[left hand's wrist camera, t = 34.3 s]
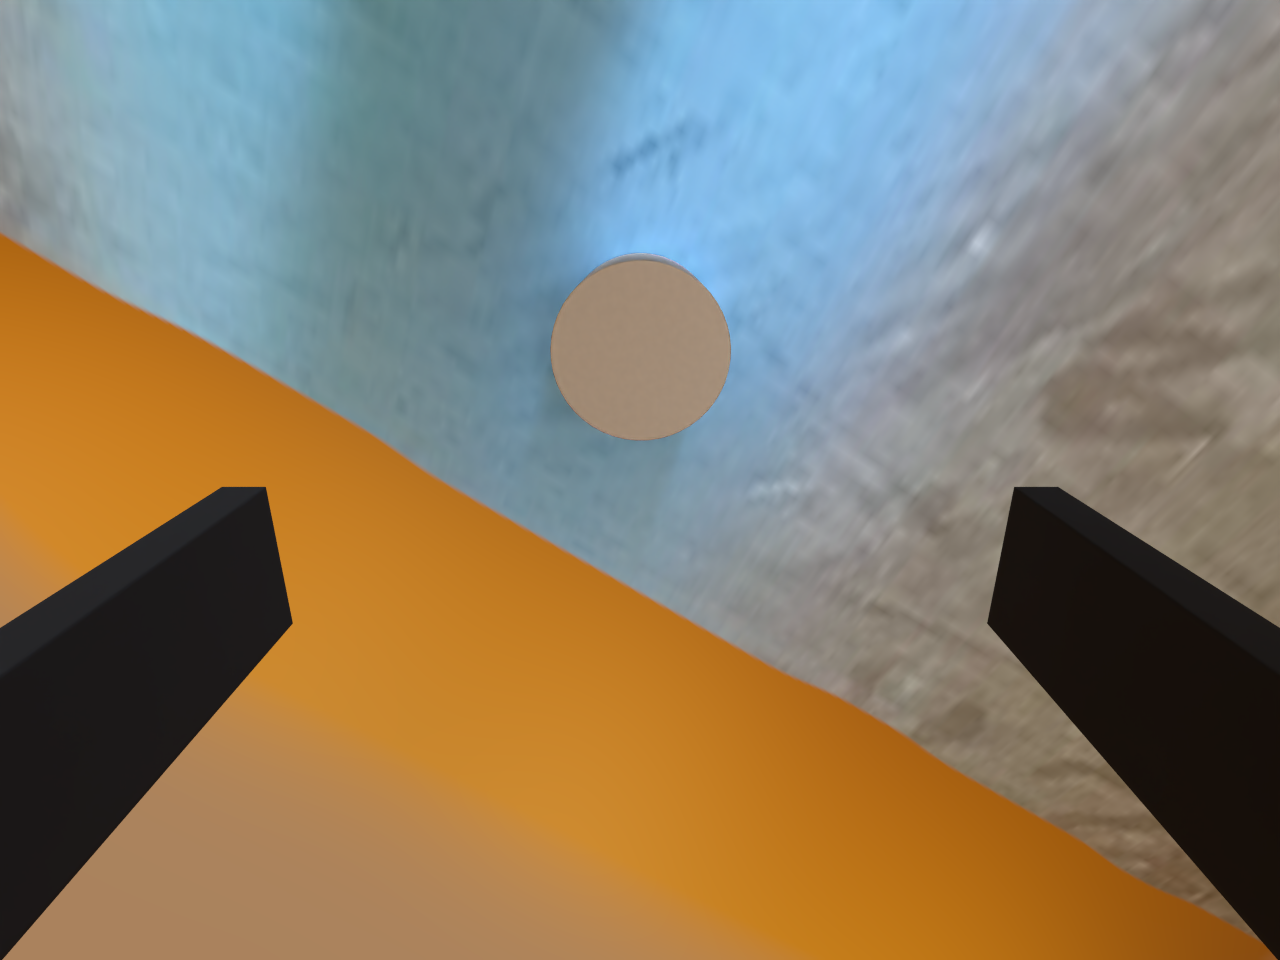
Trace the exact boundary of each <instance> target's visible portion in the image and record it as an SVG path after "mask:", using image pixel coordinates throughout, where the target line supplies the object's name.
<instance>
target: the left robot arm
mask: <svg viewBox="0 0 1280 960" xmlns="http://www.w3.org/2000/svg"><path fill="white" fill-rule="evenodd" d="M987 624H988V625H989V626H990V627H991V628H992V629H993V631H994V632H995V633H996V634H997V635H998V636H999V637H1000V639H1001V640H1002V641H1003V642H1004V643H1005V644H1006V646H1007V647H1008V648H1009V649H1010V650H1011V651H1012V653H1013V654H1014V655H1015V656H1016V657H1017V658H1018V659H1019V661H1020V662H1021V663H1022V664H1023V665H1024V666H1025V668H1026V669H1027V670H1028V671H1029V672H1030V673H1031V675H1032V676H1033V677H1034V678H1035V679H1036V680H1037V681H1038V683H1039V684H1040V685H1041V686H1042V687H1043V688H1044V690H1045V691H1046V692H1047V693H1048V694H1049V695H1050V697H1051V698H1052V699H1053V700H1054V701H1055V702H1056V703H1057V705H1058V706H1059V707H1060V708H1061V709H1062V710H1063V712H1064V713H1065V714H1066V715H1067V716H1068V717H1069V719H1070V720H1071V721H1072V722H1073V723H1074V724H1075V725H1076V727H1077V728H1078V729H1079V730H1080V731H1081V732H1082V734H1083V735H1084V736H1085V737H1086V738H1087V739H1088V741H1089V742H1090V743H1091V744H1092V745H1093V746H1094V747H1095V749H1096V750H1097V751H1098V752H1099V753H1100V754H1101V756H1102V757H1103V758H1104V759H1105V760H1106V761H1107V763H1108V764H1109V765H1110V766H1111V767H1112V768H1113V769H1114V771H1115V772H1116V773H1117V774H1118V775H1119V776H1120V778H1121V779H1122V780H1123V781H1124V782H1125V783H1126V785H1127V786H1128V787H1129V788H1130V789H1131V790H1132V791H1133V793H1134V794H1135V795H1136V796H1137V797H1138V798H1139V800H1140V801H1141V802H1142V803H1143V804H1144V805H1145V807H1146V808H1147V809H1148V810H1149V811H1150V812H1151V813H1152V815H1153V816H1154V817H1155V818H1156V819H1157V820H1158V822H1159V823H1160V824H1161V825H1162V826H1163V827H1164V829H1165V830H1166V831H1167V832H1168V833H1169V834H1170V835H1171V837H1172V838H1173V839H1174V840H1175V841H1176V842H1177V844H1178V845H1179V846H1180V847H1181V848H1182V849H1183V851H1184V852H1185V853H1186V854H1187V855H1188V856H1189V857H1190V859H1191V860H1192V861H1193V862H1194V863H1195V864H1196V866H1197V867H1198V868H1199V869H1200V870H1201V871H1202V873H1203V874H1204V875H1205V876H1206V877H1207V878H1208V879H1209V881H1210V882H1211V883H1212V884H1213V885H1214V886H1215V888H1216V889H1217V890H1218V891H1219V892H1220V893H1221V895H1222V896H1223V897H1224V898H1225V899H1226V900H1227V901H1228V903H1229V904H1230V905H1231V906H1232V907H1233V908H1234V910H1235V911H1236V912H1237V913H1238V914H1239V915H1240V917H1241V918H1242V919H1243V920H1244V921H1245V922H1246V923H1247V925H1248V926H1249V927H1250V928H1251V929H1252V930H1253V932H1254V933H1255V934H1256V935H1257V936H1258V937H1259V939H1260V940H1261V941H1262V942H1263V943H1264V944H1265V945H1266V947H1267V948H1268V949H1269V950H1270V951H1271V952H1272V954H1273V955H1274V956H1275V957H1276V958H1277V959H1278V960H1280V628H1279V627H1277V626H1276V625H1274V624H1273V623H1271V622H1270V621H1268V620H1266V619H1265V618H1263V617H1262V616H1260V615H1259V614H1257V613H1255V612H1254V611H1252V610H1251V609H1249V608H1248V607H1246V606H1244V605H1243V604H1241V603H1240V602H1238V601H1237V600H1235V599H1233V598H1232V597H1230V596H1229V595H1227V594H1225V593H1224V592H1222V591H1221V590H1219V589H1218V588H1216V587H1214V586H1213V585H1211V584H1210V583H1208V582H1207V581H1205V580H1203V579H1202V578H1200V577H1199V576H1197V575H1196V574H1194V573H1192V572H1191V571H1189V570H1188V569H1186V568H1185V567H1183V566H1181V565H1180V564H1178V563H1177V562H1175V561H1174V560H1172V559H1170V558H1169V557H1167V556H1166V555H1164V554H1163V553H1161V552H1159V551H1158V550H1156V549H1155V548H1153V547H1152V546H1150V545H1148V544H1147V543H1145V542H1144V541H1142V540H1141V539H1139V538H1137V537H1136V536H1134V535H1133V534H1131V533H1130V532H1128V531H1126V530H1125V529H1123V528H1122V527H1120V526H1119V525H1117V524H1115V523H1114V522H1112V521H1111V520H1109V519H1108V518H1106V517H1104V516H1103V515H1101V514H1100V513H1098V512H1097V511H1095V510H1093V509H1092V508H1090V507H1089V506H1087V505H1085V504H1084V503H1082V502H1081V501H1079V500H1078V499H1076V498H1074V497H1073V496H1071V495H1070V494H1068V493H1067V492H1065V491H1063V490H1062V489H1060V488H1059V487H1014V491H1013V496H1012V501H1011V506H1010V511H1009V516H1008V521H1007V526H1006V531H1005V536H1004V541H1003V547H1002V552H1001V557H1000V562H999V567H998V572H997V577H996V582H995V587H994V592H993V597H992V602H991V607H990V612H989V617H988V622H987ZM291 625H292V617H291V612H290V607H289V602H288V597H287V592H286V587H285V582H284V577H283V572H282V567H281V562H280V557H279V552H278V547H277V542H276V536H275V531H274V526H273V521H272V516H271V512H270V506H269V501H268V496H267V491H266V487H221V488H220V489H218V490H217V491H215V492H213V493H212V494H210V495H209V496H207V497H206V498H204V499H202V500H201V501H199V502H198V503H196V504H195V505H193V506H191V507H190V508H188V509H187V510H185V511H183V512H182V513H180V514H179V515H177V516H176V517H174V518H173V519H171V520H169V521H168V522H166V523H165V524H163V525H161V526H160V527H158V528H157V529H155V530H154V531H152V532H151V533H149V534H147V535H146V536H144V537H143V538H141V539H139V540H138V541H136V542H135V543H133V544H132V545H130V546H128V547H127V548H125V549H124V550H122V551H121V552H119V553H117V554H116V555H114V556H113V557H111V558H110V559H108V560H106V561H105V562H103V563H102V564H100V565H99V566H97V567H95V568H94V569H92V570H91V571H89V572H88V573H86V574H84V575H83V576H81V577H80V578H78V579H77V580H75V581H73V582H72V583H70V584H69V585H67V586H66V587H64V588H62V589H61V590H59V591H58V592H56V593H55V594H53V595H51V596H50V597H48V598H47V599H45V600H44V601H42V602H40V603H39V604H37V605H36V606H34V607H33V608H31V609H29V610H28V611H26V612H25V613H23V614H21V615H20V616H18V617H17V618H15V619H14V620H12V621H11V622H9V623H7V624H6V625H4V626H3V627H1V628H0V960H2V959H3V958H4V957H5V956H6V955H7V954H8V952H9V951H10V950H11V949H12V948H13V946H14V945H15V944H16V943H17V942H18V941H19V940H20V938H21V937H22V936H23V935H24V934H25V933H26V932H27V930H28V929H29V928H30V927H31V926H32V925H33V923H34V922H35V921H36V920H37V919H38V918H39V917H40V915H41V914H42V913H43V912H44V911H45V910H46V908H47V907H48V906H49V905H50V904H51V903H52V901H53V900H54V899H55V898H56V897H57V896H58V895H59V893H60V892H61V891H62V890H63V889H64V888H65V886H66V885H67V884H68V883H69V882H70V881H71V879H72V878H73V877H74V876H75V875H76V874H77V872H78V871H79V870H80V869H81V868H82V867H83V866H84V864H85V863H86V862H87V861H88V860H89V859H90V857H91V856H92V855H93V854H94V853H95V852H96V850H97V849H98V848H99V847H100V846H101V845H102V843H103V842H104V841H105V840H106V839H107V838H108V837H109V835H110V834H111V833H112V832H113V831H114V830H115V828H116V827H117V826H118V825H119V824H120V823H121V822H122V820H123V819H124V818H125V817H126V816H127V815H128V813H129V812H130V811H131V810H132V809H133V808H134V807H135V805H136V804H137V803H138V802H139V801H140V800H141V798H142V797H143V796H144V795H145V794H146V793H147V791H148V790H149V789H150V788H151V787H152V786H153V785H154V783H155V782H156V781H157V780H158V779H159V778H160V776H161V775H162V774H163V773H164V772H165V771H166V769H167V768H168V767H169V766H170V765H171V764H172V763H173V761H174V760H175V759H176V758H177V757H178V756H179V754H180V753H181V752H182V751H183V750H184V749H185V747H186V746H187V745H188V744H189V743H190V742H191V741H192V739H193V738H194V737H195V736H196V735H197V734H198V732H199V731H200V730H201V729H202V728H203V727H204V725H205V724H206V723H207V722H208V721H209V720H210V719H211V717H212V716H213V715H214V714H215V713H216V712H217V710H218V709H219V708H220V707H221V706H222V705H223V703H224V702H225V701H226V700H227V699H228V698H229V696H230V695H231V694H232V693H233V692H234V691H235V690H236V688H237V687H238V686H239V685H240V684H241V683H242V681H243V680H244V679H245V678H246V677H247V676H248V675H249V673H250V672H251V671H252V670H253V669H254V667H255V666H256V665H257V664H258V663H259V662H260V661H261V659H262V658H263V657H264V656H265V655H266V654H267V653H268V651H269V650H270V649H271V648H272V647H273V646H274V644H275V643H276V642H277V641H278V640H279V639H280V637H281V636H282V635H283V634H284V633H285V632H286V631H287V629H288V628H289V627H290V626H291Z"/></svg>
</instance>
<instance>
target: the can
mask: <svg viewBox="0 0 1280 960" xmlns="http://www.w3.org/2000/svg"><path fill="white" fill-rule="evenodd" d="M730 356H731V344H730V335H729V331H728V326H727V323H726V320H725V317H724V315H723V312H722V310H721V309H720V307H719V305H718V303H717V301H716V300H715V299H714V297H713V296H712V294H711V293H710V292H709V291H708V290H707V289H706V288H705V287H704V286H703V285H702V283H701V282H700V281H699V280H698V279H697V278H696V277H695V276H694V275H693V274H692V273H691V272H689V271H688V270H687V269H686V268H684V267H683V266H681V265H680V264H678V263H676V262H675V261H673V260H670V259H668V258H666V257H662V256H659V255H655V254H647V253H633V254H627V255H622V256H619V257H615V258H613V259H611V260H609V261H606V262H605V263H603V264H601V265H600V266H598V267H597V268H596V269H594V270H593V271H592V272H591V273H590V274H589V275H588V276H587V277H586V278H585V279H584V280H583V281H582V282H581V283H580V284H579V285H578V286H577V287H576V288H575V289H574V290H573V291H572V292H571V294H570V295H569V296H568V298H567V299H566V301H565V302H564V304H563V306H562V307H561V309H560V311H559V313H558V316H557V318H556V321H555V324H554V328H553V332H552V337H551V363H552V368H553V373H554V376H555V379H556V382H557V385H558V387H559V389H560V391H561V393H562V395H563V397H564V398H565V400H566V401H567V403H568V404H569V405H570V407H571V408H572V409H573V410H574V411H575V413H577V414H578V415H579V416H580V417H581V418H582V419H583V420H584V421H586V422H587V423H588V424H590V425H591V426H593V427H594V428H596V429H598V430H600V431H602V432H604V433H606V434H609V435H611V436H614V437H618V438H622V439H629V440H653V439H659V438H663V437H667V436H670V435H672V434H675V433H677V432H680V431H682V430H683V429H685V428H687V427H689V426H690V425H692V424H693V423H694V422H696V421H697V420H698V419H700V418H701V417H702V416H703V415H704V414H705V413H706V412H707V411H708V409H709V408H710V407H711V406H712V405H713V403H714V402H715V400H716V399H717V397H718V396H719V394H720V392H721V390H722V388H723V386H724V383H725V381H726V377H727V374H728V371H729V365H730Z"/></svg>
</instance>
